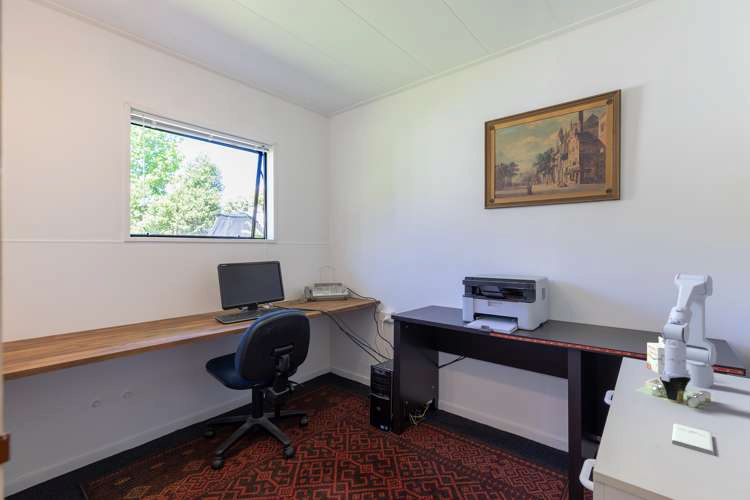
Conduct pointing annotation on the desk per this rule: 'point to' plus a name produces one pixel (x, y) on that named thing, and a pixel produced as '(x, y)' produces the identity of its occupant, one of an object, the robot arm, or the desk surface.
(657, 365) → the ink cartridge box
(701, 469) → the desk surface
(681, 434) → the external hard drive
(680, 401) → the nut
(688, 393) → the mat
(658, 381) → the tray
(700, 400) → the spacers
